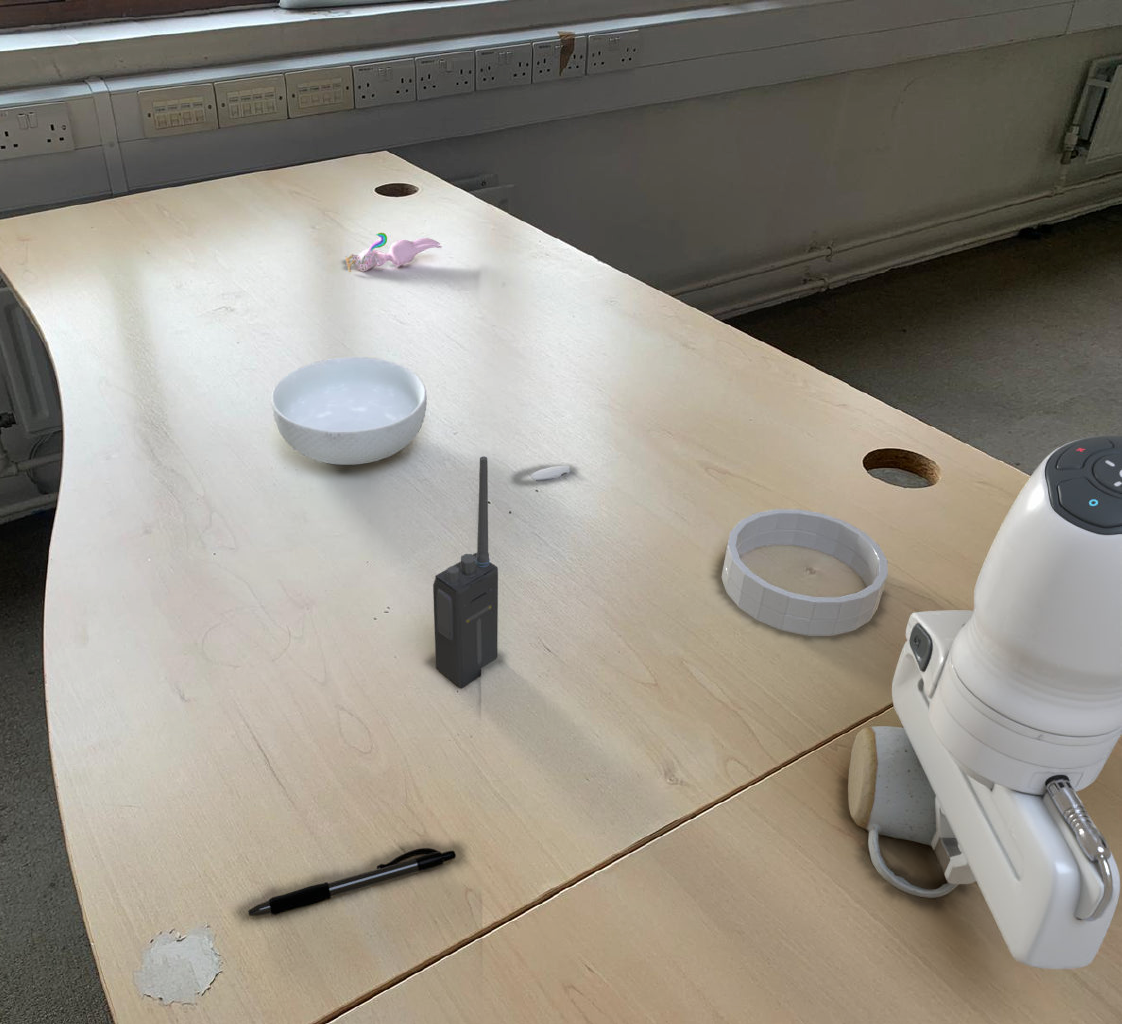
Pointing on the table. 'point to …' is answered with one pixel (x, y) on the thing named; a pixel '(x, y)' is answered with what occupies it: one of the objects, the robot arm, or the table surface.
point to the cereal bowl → (349, 409)
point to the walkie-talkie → (468, 605)
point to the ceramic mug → (891, 797)
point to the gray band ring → (796, 608)
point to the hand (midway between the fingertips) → (951, 865)
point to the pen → (354, 881)
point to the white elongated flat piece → (550, 473)
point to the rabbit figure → (390, 252)
